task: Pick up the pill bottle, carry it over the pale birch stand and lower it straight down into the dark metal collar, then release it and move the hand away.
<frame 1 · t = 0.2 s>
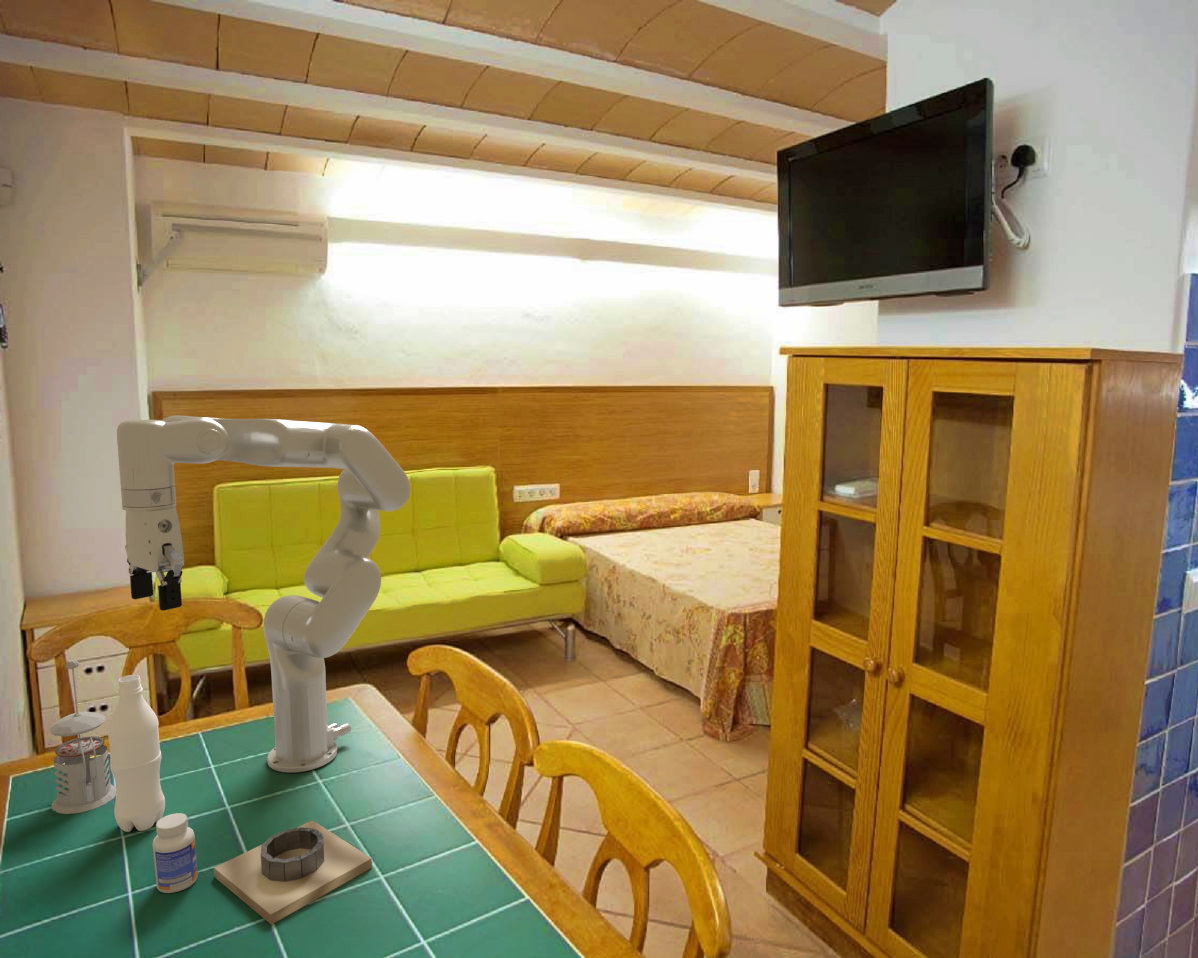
hand: (156, 602, 130), 37 cm above the table, tool pointing down, fingers open, 9 cm apart
stand plate: (294, 872, 119), on the table
pill bottle: (177, 883, 117), on the table
french press: (86, 801, 139), on the table
water bottle: (141, 824, 132), on the table
collar: (293, 853, 119), on the stand plate, point 2 cm above the table
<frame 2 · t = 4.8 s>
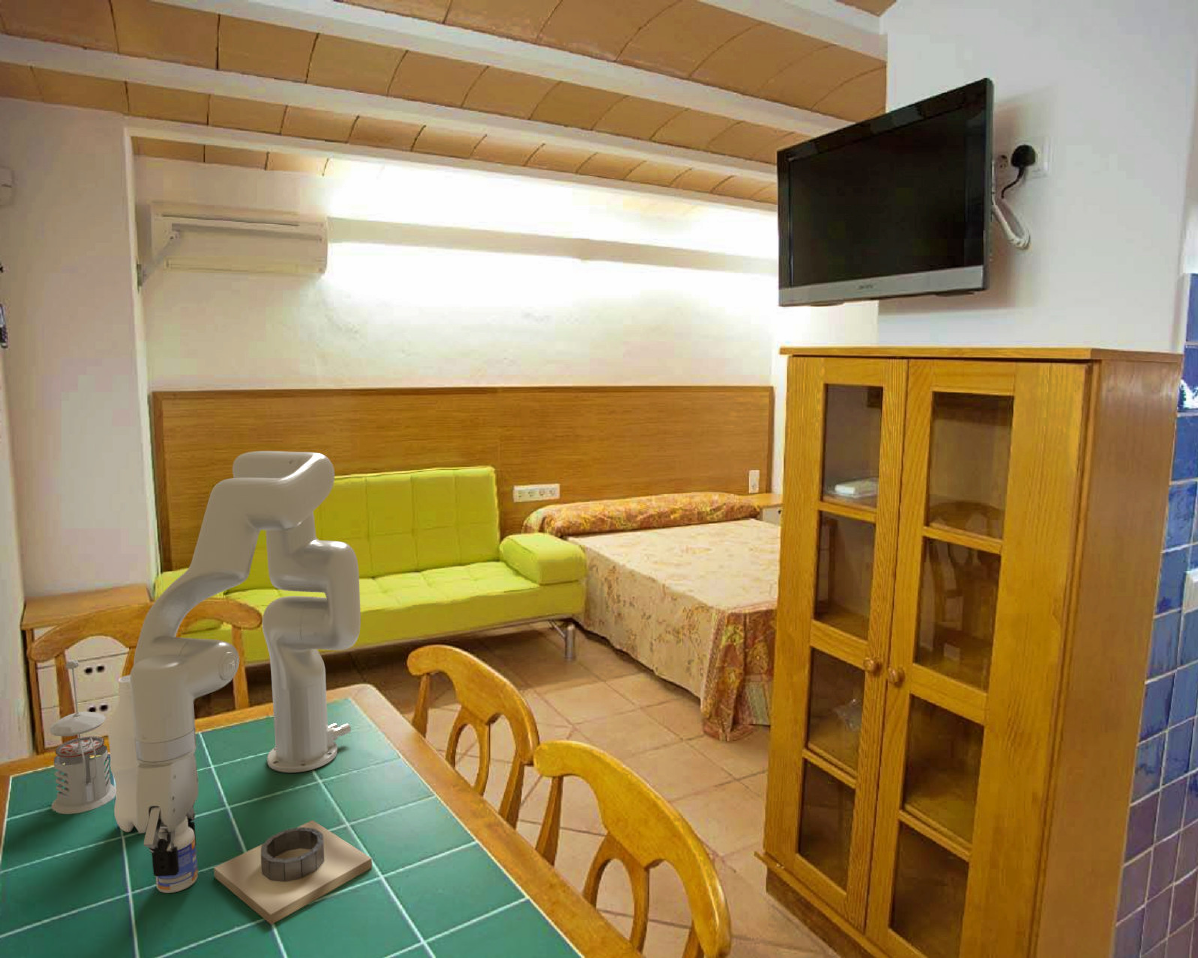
hand: (175, 859, 116), 4 cm above the table, tool pointing down, fingers closed on pill bottle, 5 cm apart
pill bottle: (177, 883, 117), on the table, touching gripper
everything else where it was.
when the fingers open (6 cm above the table, at t = 11.1 s): pill bottle stays where it is, resting on stand plate.
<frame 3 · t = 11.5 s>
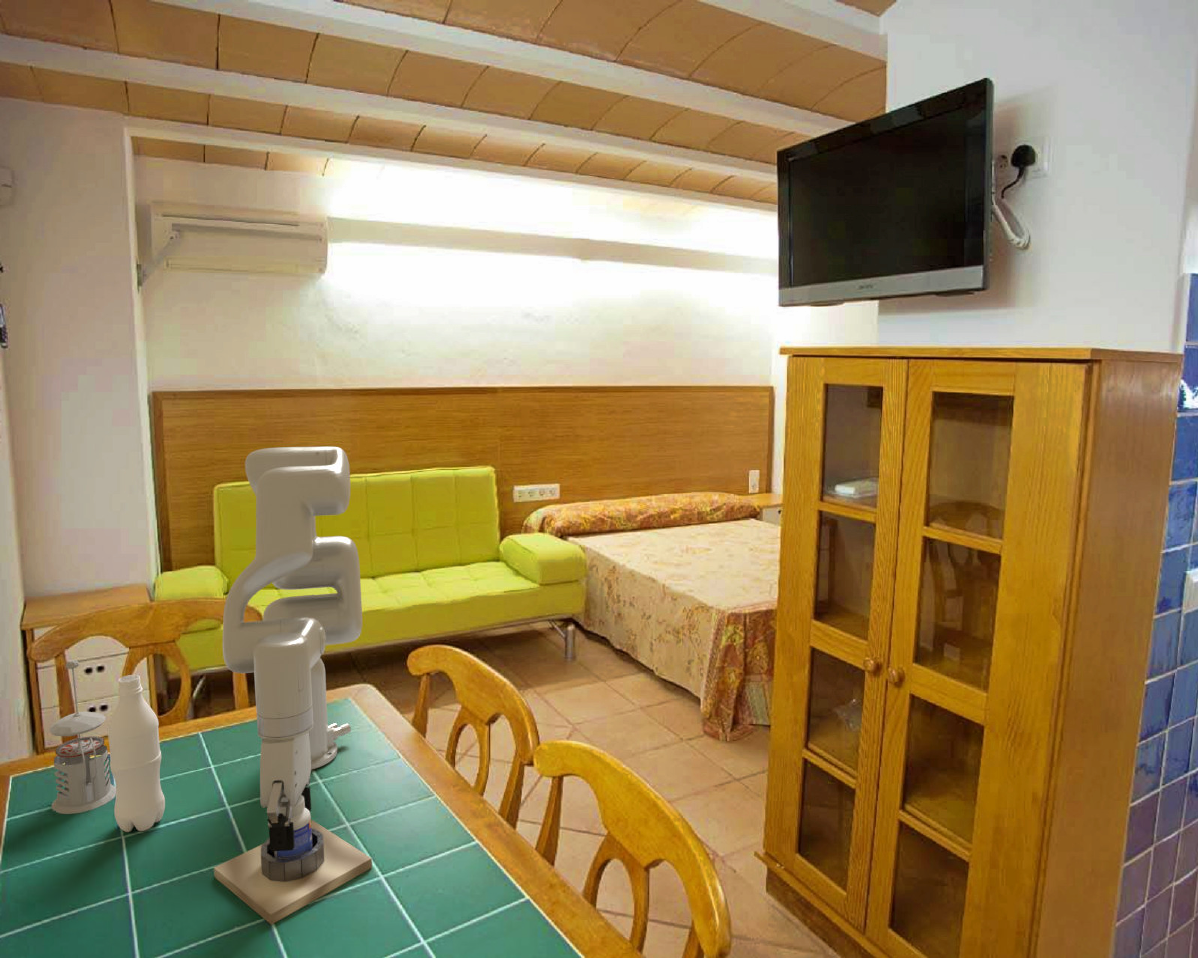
hand: (291, 830, 118), 7 cm above the table, tool pointing down, fingers open, 9 cm apart
pill bottle: (293, 862, 119), point 1 cm above the table, touching stand plate
everything else where it was.
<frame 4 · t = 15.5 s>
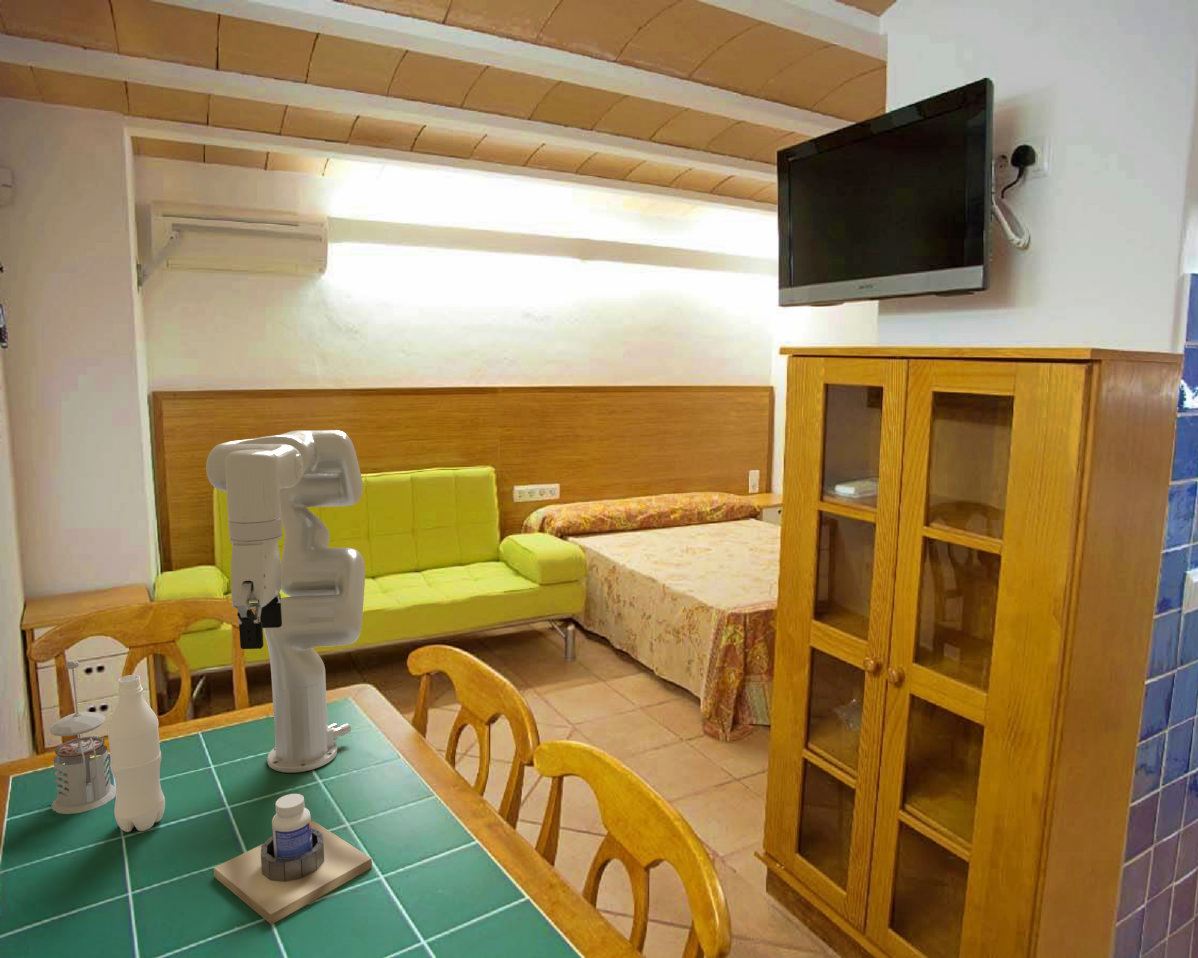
hand: (262, 637, 126), 32 cm above the table, tool pointing down, fingers open, 9 cm apart
nothing on the table moved.
at the end: pill bottle 0.4 cm off-centre on the collar, point 1.3 cm above the collar's base; pill bottle tilted 0°; the gripper is holding nothing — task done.
